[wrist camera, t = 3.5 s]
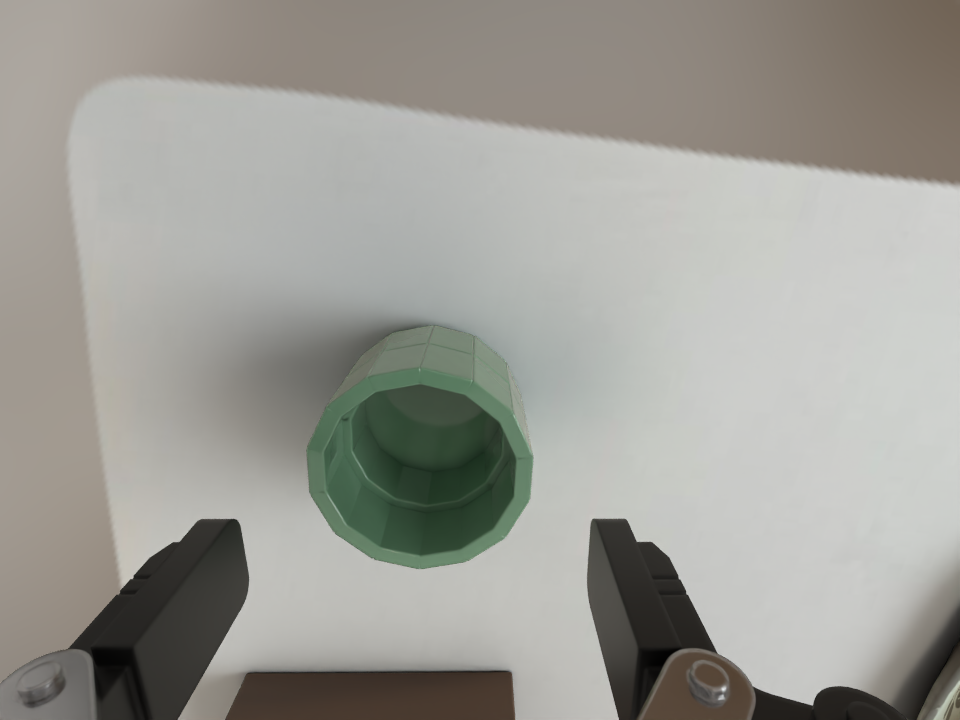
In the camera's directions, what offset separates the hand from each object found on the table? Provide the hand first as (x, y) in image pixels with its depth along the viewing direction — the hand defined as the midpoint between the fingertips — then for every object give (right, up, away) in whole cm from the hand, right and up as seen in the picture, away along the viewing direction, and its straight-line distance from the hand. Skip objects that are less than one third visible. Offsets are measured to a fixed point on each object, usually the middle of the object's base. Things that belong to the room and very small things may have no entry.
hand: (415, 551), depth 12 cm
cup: (0, +3, +8) cm, 8 cm away
